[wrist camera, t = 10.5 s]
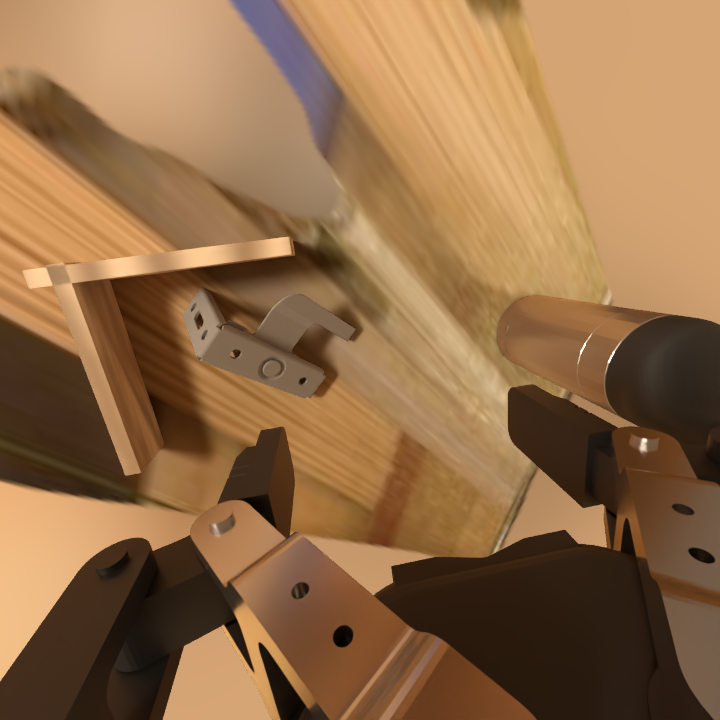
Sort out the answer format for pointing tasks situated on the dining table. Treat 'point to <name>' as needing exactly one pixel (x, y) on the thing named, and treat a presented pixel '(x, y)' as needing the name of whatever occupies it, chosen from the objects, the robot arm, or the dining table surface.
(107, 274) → the wooden corner joint
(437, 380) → the dining table surface
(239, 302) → the dining table surface
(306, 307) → the bracket
